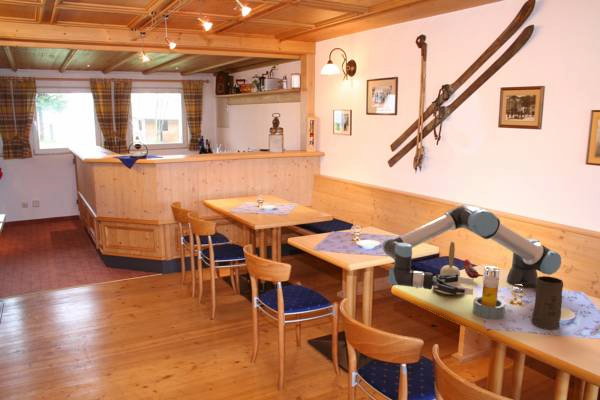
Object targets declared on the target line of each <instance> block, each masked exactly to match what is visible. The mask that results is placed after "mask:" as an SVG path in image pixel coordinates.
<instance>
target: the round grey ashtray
mask: <svg viewBox="0 0 600 400" xmlns="http://www.w3.org/2000/svg"><path fill="white" fill-rule="evenodd" d="M481 302H482V296H479V297H474V299H473V303H472V312H473V313H474V314H475V315H476V316H477V317H480V318H485V319H488V320H489V319H490V320H498V319H502V318H503V317H504V316H505V308H506V303H504V301H502V300H500V299H498V298H497V303H496V307H489V306H485V305H482V304H481Z"/></svg>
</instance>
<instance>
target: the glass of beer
mask: <svg viewBox="0 0 600 400" xmlns="http://www.w3.org/2000/svg"><path fill="white" fill-rule="evenodd" d="M482 284H483V285H482V291H481V292H482V295H481V297H482V302H481V304H482V305H485V306H489V307H496V303H497V299H498V294H499V293H498V292H499V284H500V281H498V278H496V277H493V276H486V277H485V278H484V282H483V281H482Z"/></svg>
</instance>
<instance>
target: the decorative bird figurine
mask: <svg viewBox="0 0 600 400" xmlns="http://www.w3.org/2000/svg"><path fill="white" fill-rule="evenodd" d="M463 265H464V272H465V273H466V275H467V276H468V278H473V279H477V278H479V277H483V274H481V273H479V272H478V270H477V269H476V268H475V267H474V266H473V265H472V264H471V262H470V260H469V259H464V261H463Z"/></svg>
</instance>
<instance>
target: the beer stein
mask: <svg viewBox="0 0 600 400" xmlns="http://www.w3.org/2000/svg"><path fill="white" fill-rule="evenodd" d="M536 283H537V284H536V287H535V291H534V292H535V294H534V295H535V301H534V306H533V307H534V308H533V311H532V314H531V319H530V322H531V324H533V325H534V326H535V327H537V328H540V329H544V330H557V329H559V328H560V326H561V325H560V321H561V317H562V316H561V315H562V303H563V289H564V281H563V279H561V278H557V277H555V276H549V275H548V276H547V275H542V276H538V278H537V281H536Z"/></svg>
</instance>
